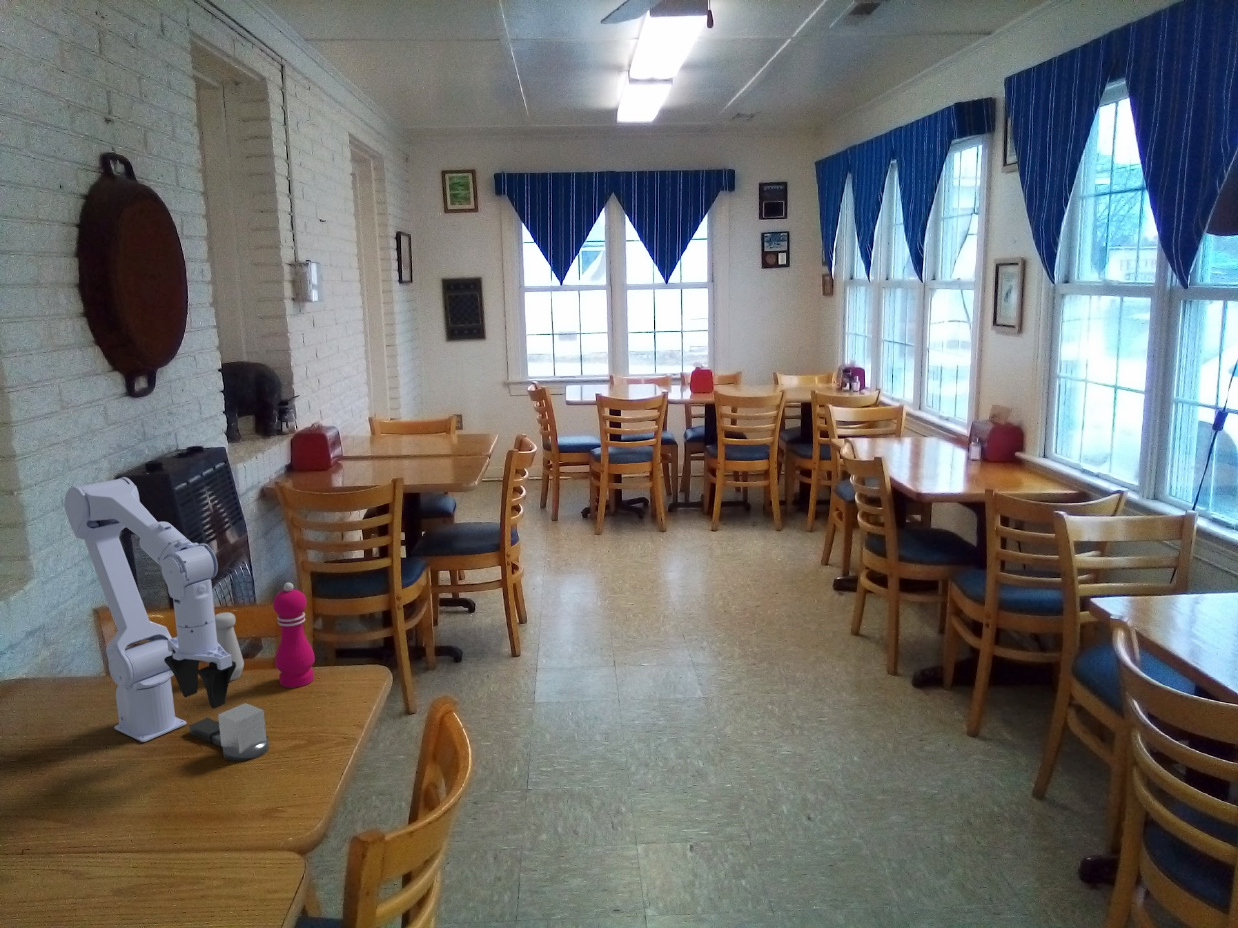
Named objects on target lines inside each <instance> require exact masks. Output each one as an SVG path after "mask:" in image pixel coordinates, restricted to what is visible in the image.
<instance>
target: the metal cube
mask: <svg viewBox="0 0 1238 928" xmlns="http://www.w3.org/2000/svg"><path fill="white" fill-rule="evenodd" d="M264 711H265V710H264V709H262V708H260V707H256V706H254V705H251V704H248V703H246V702H243V703H242V704H239V705H237V706H236V707H232V708H230V709H228V710H225V711H223V712H221V713H219V714H217V718H218V722H219V728H220V737H221V746H223V747H225V748H228V749H230V750H232V751H234V752H237V753H239V754H241V753H243V752H245V751H247V750H249V749H251V748H253V747H255V746H257V745H260V744H262V743H264V742H266V741H267V739H266V736H267V730H266V721H265V719H266V718H265V712H264ZM221 746H220V747H221ZM223 747H222V748H223Z"/></svg>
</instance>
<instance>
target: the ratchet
mask: <svg viewBox="0 0 1238 928" xmlns="http://www.w3.org/2000/svg"><path fill="white" fill-rule="evenodd" d="M188 727H189V733H190V735H191V736H194V737H196V738H199V739H200V740H203V741H206V742H207V743H209V744H211V743H212V744H214V745H215V746H218V747H221V748H222V752H223V758H224V759H225V760H227V761H231V762H245V761H250V760H251V761H252V760H253V759H256V758H259V757H261V756H263V755H264V754H265V753H267V752H268V750H269V748H270V741H269V737H268V735H266V739H267V741H266V742H264V743H262V744H260V745H257V746H255V747H253V748H251V749H249V750H247V751H245V752H243V753H241V754H239V753H237V752H234V751H232V750H230V749H228V748H225V747H223V746H221V737H220V728H219V721H216V720H214V719H211V718H210V717H205V718H203V719H200V720H199V721H196V722H194V723H191V724H189V726H188Z"/></svg>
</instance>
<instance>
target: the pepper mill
mask: <svg viewBox="0 0 1238 928" xmlns="http://www.w3.org/2000/svg"><path fill="white" fill-rule="evenodd" d="M307 602H308V601H307V598H306V596H305V594H304V593H303V592H302V591H301V590H298V589H294V585H293V583H291V582H286V583H284V585H283V590H281V591H280V592H278V593H277V594H276V595H275V597H274V599H273V604H272V606H273V607H272V608H273V610H274V612H275V613H276V614H277V615H278V616H277V625H279V626H280V630H281V632H280V633H281V639H280V643H279V645H278V648H277V650H276V654H275V659H274V660H275V661H274V663H275V667H276V669H277V670H278V671H279V672H280V673H279V676H278V677H279V684H280V686H281V687H284V688H289V689H291V688H293V689H294V688H301V687H304V686H306V685H307V686H308V685H309V684H310V683H312V682H313V681H314V679H315V677H314V676H315V675H314V669H313V668H312V666H313V665H314V663H315V661H316V658H315V657H316V655H315V653H314V650H313V647H312V645H311V643H309V641H308V638H307V637H306V634H305V630H304V623H305V621H306V618H305V616H306V613H305V612H304V611H305V609H306V607H307Z"/></svg>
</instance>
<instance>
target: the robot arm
mask: <svg viewBox="0 0 1238 928" xmlns="http://www.w3.org/2000/svg"><path fill="white" fill-rule="evenodd" d="M137 487H138V486H137V485H136V484H135V483H134V482H133V481H132V480H131V479H130V478H129V477H126V476H123V477H119V478H118V479H111V480H108V481H107V480H106V481H101V482H96V483H95V482H94V483H90V484H85V485H80V486H77V485H76V486H71V487H69V488H68V489H67V492H66V493H65V497H64V505H63V507H64V512H65V513H66V514H65V515H66V516H67V521H68V522H69V525H70V527H71V528H70V529H71V530H72V532H73V533H74V537H75V538H76V539H80V540H83V541H84V543H85V546H86V548H87V551H88V553H89V556H90V560H91V562H92V564H93V567H94V570H95V573H96V576H97V577H98V582H99V583H100V586H101V590H102V592H103V595H104V598H105V600H106V604H107V605H108V608H109V611H110V614H111V617H112V619H113V622H114V624H115V627H116V630H117V632H116V634H115V635H114V637H112V639H111V640H110V641H109V643H108V645H107V647H105V653H106V656H107V660H108V671H109V674H110V676H111V678H112V680H113V682H114V683H115V684H116V685H117V688H116V689H115V690H116V691H115V698H116V699H115V700H116V707H117V715H118V716H117V717H118V724H117V725H115V726H114V727H113V728H114V730H116V731H118V732H119V733H120V732H121V733H122V734H124V735H126V736H129V737H131V738H134V739H135V740H137V741H139V742H141V743H145V742H147V741H150V740H151V741H152V740H154V739H155V738H158V737H159V736H160V737H161V736H162V735H165V734H166V733H169V732H171V731H173V730H176V729H178V728H181V727H183V726H185V725H187V721H186V720H184V719H181V718H179V717H177V716H176V713H175V704H174V697H173V687H172V679H171V678H172V677H173V676H174V677H175V680H176V681H177V684H178V686H179V690H180V691H181V693H182V696H183V697H184V698H188V697H191V696H193V695H195V694H198V691H199V677H200V679H201V680H202V681H203V684H204V687H205V691H206V695H207V700H208V703H209V705H210V708H211V709H217V708H220V707H222V706H224V705H225V704H226V699H227V695H228V694H227V693H228V690H229V689H228V688H229V685H230V682H231V681H230V678H231V676H232V674H233V672H234V670H235V668H236V662H234V661H232V659H231V654H228V653H227V652H226V651H225V650H224V649H223V648H222V647H221V645H220V644H219V643H218V642H217V634H216V623H215V615H216V614H215V604H214V593H213V587H212V579H214V578H216V576H217V574H218V571H219V570H218V569H219V565H218V559H217V557H216V554H215V552H214V550H213V549H212V548H211V546H209V545H208V544H207V543H198V542H192V541H191V540H190V539H188V538H187V537H186V536H185V535H184V534H183V533H181V532H180V531H179V530H178V529H177V528H176V527H174V525H172V524H171V523H169V522H168V521H158V520H156V518H155V517H154V516H153V514H151V513H150V511H149V510H148V509H147V508H146V507H145V506H144V505H143V504H142V503H141V501H140V494H139V490H138V488H137ZM125 528H127V529H128V530H129V531H130V532H132V533H133V534H134V535H136V536H137V537H139V547H140V548H141V550H142V551H143V552H144V553H146V555H148V556H149V557H150V558H151V559H152V560H153V561H154V562H155V563H157V565H159V566H160V568H161V574H162V578H163V579H164V581H165V584H166V585H167V591H168V594H169V597H170V598H172V599H173V609H174V618H175V619H174V620H175V627H176V628H175V629H176V635H177V636H175V637H172V636H171V633H170V632H169V630H168V628H167V626H165V625H162V624H159V623H156V622H154V621H151V620H150V618H149V615H148V614H147V611H146V608H145V605H144V602H143V600H142V597H141V594H140V592H139V589H138V586H137V584H136V580H135V579H134V576H133V572H132V570H131V567H130V564H129V562H128V559H127V557H126V554H125V551H124V548H123V546H122V543H121V540H120V534H121V531H123V530H124V529H125ZM144 641H145V642H144ZM140 642H143V643H140ZM135 644H136V645H135ZM131 645H133V646H131ZM129 646H131V647H129ZM127 647H128V648H127ZM200 661H203V662H206V663H208V666H205V667H202V668H200V669H199V665H200Z"/></svg>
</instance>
